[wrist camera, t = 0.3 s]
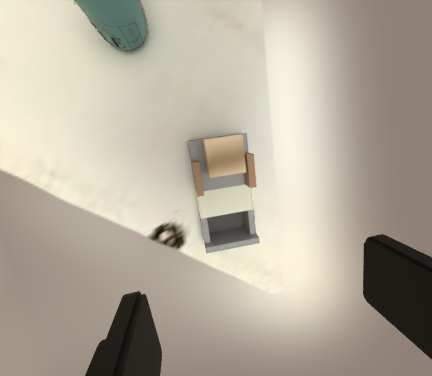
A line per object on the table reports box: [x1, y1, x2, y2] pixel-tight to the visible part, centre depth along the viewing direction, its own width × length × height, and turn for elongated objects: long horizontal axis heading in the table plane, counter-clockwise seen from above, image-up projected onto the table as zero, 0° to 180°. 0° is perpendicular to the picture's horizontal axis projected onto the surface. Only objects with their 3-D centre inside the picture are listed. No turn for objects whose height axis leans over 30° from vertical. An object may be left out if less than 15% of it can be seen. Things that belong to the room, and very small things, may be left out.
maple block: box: [202, 135, 246, 178], centre depth 30 cm, size 5×5×5 cm
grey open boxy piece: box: [188, 133, 259, 253], centre depth 35 cm, size 18×9×6 cm, turn 8°
